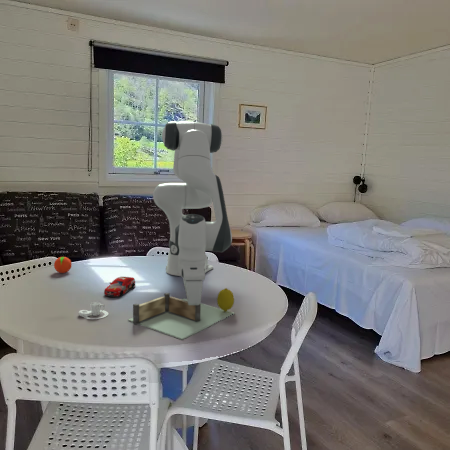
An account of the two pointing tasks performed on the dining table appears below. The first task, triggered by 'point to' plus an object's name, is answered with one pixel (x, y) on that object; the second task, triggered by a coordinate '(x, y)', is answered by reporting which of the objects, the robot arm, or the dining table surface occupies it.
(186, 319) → the mat
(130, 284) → the race car
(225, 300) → the lemon
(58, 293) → the dining table surface
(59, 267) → the clementine
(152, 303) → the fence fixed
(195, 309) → the fence panel
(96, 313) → the teacup and saucer
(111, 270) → the dining table surface
